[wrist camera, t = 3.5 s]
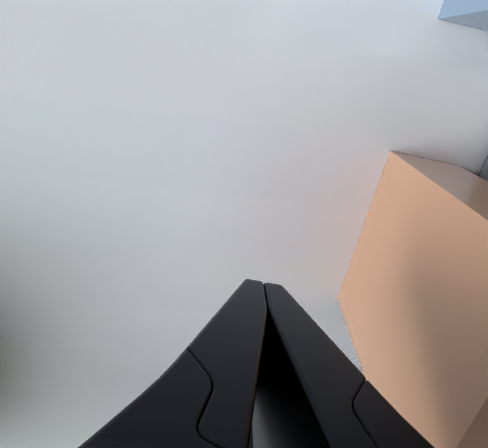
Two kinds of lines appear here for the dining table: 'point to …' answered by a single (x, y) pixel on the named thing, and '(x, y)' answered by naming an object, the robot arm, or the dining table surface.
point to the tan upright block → (425, 298)
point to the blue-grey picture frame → (466, 13)
